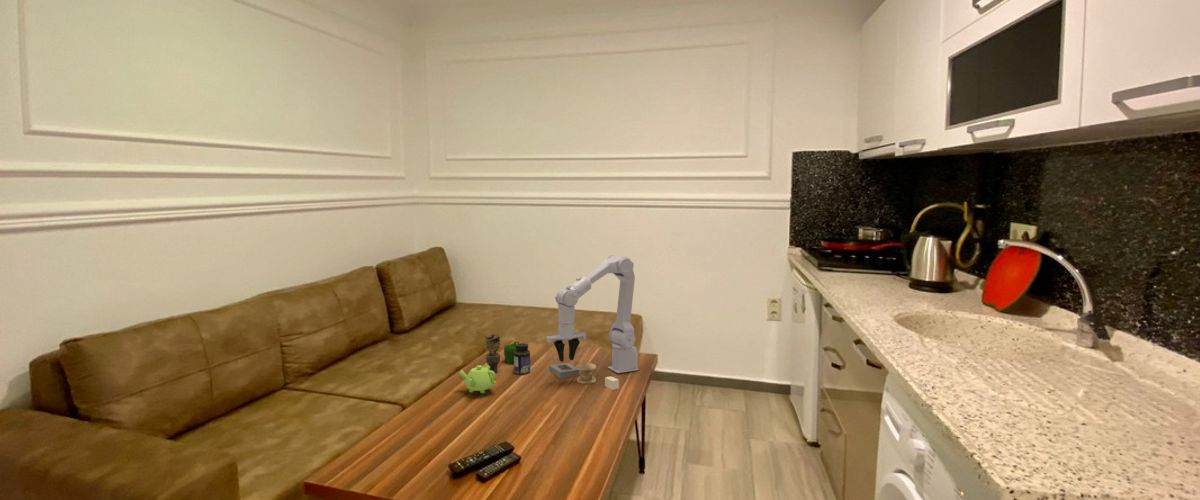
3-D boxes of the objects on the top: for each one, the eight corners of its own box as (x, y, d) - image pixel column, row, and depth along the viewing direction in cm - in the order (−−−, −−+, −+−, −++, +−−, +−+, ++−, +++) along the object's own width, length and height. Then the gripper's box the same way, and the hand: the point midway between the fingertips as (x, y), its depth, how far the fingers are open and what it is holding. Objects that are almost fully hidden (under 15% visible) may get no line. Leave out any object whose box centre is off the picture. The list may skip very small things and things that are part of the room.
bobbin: (590, 376, 192) (590, 362, 192) (599, 382, 186) (599, 367, 186) (573, 379, 189) (573, 364, 188) (582, 385, 183) (582, 369, 182)
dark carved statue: (482, 373, 195) (481, 334, 194) (491, 370, 199) (491, 331, 198) (493, 376, 192) (493, 336, 191) (503, 372, 197) (503, 333, 196)
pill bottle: (531, 371, 199) (531, 342, 198) (528, 376, 193) (528, 347, 192) (516, 370, 199) (516, 342, 198) (512, 375, 193) (512, 346, 192)
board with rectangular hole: (568, 369, 202) (568, 362, 201) (579, 376, 193) (579, 369, 192) (549, 371, 198) (549, 365, 198) (560, 379, 189) (560, 372, 189)
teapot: (501, 391, 175) (501, 367, 175) (468, 398, 169) (468, 372, 169) (489, 382, 185) (489, 359, 184) (457, 388, 179) (457, 364, 178)
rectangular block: (610, 385, 184) (610, 376, 183) (618, 388, 180) (618, 379, 179) (604, 386, 182) (604, 377, 182) (612, 390, 178) (612, 381, 178)
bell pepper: (501, 363, 209) (501, 338, 208) (521, 360, 212) (521, 336, 212) (507, 368, 201) (507, 343, 201) (527, 366, 205) (527, 341, 204)
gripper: (580, 318, 190) (579, 355, 191) (543, 322, 183) (543, 359, 184) (588, 322, 184) (588, 359, 185) (550, 326, 177) (550, 365, 178)
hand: (566, 360), depth 184 cm, fingers open, 3 cm apart
